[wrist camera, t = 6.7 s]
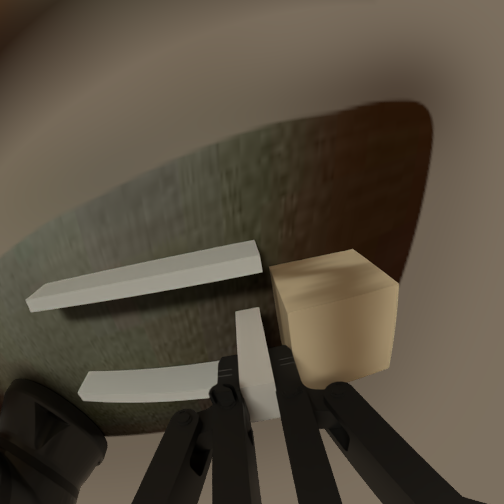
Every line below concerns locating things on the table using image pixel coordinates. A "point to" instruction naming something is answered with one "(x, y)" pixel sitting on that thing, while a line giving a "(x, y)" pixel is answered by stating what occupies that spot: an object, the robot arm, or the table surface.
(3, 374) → the table surface
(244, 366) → the robot arm
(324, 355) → the maple block
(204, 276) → the channel
